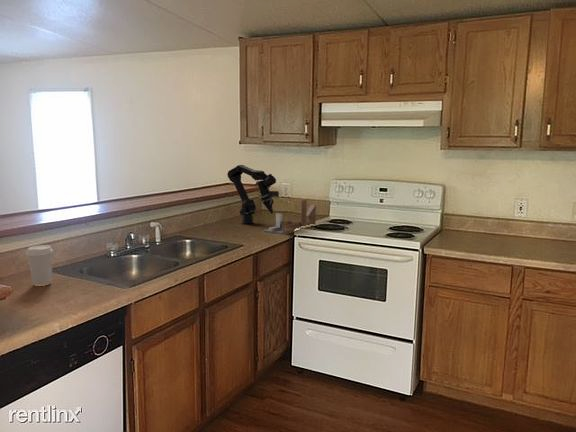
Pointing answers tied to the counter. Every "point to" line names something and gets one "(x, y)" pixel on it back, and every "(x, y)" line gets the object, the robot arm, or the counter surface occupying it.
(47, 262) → the coffee cup
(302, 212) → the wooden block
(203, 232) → the counter surface
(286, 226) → the walls
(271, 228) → the bracket
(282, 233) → the mat
